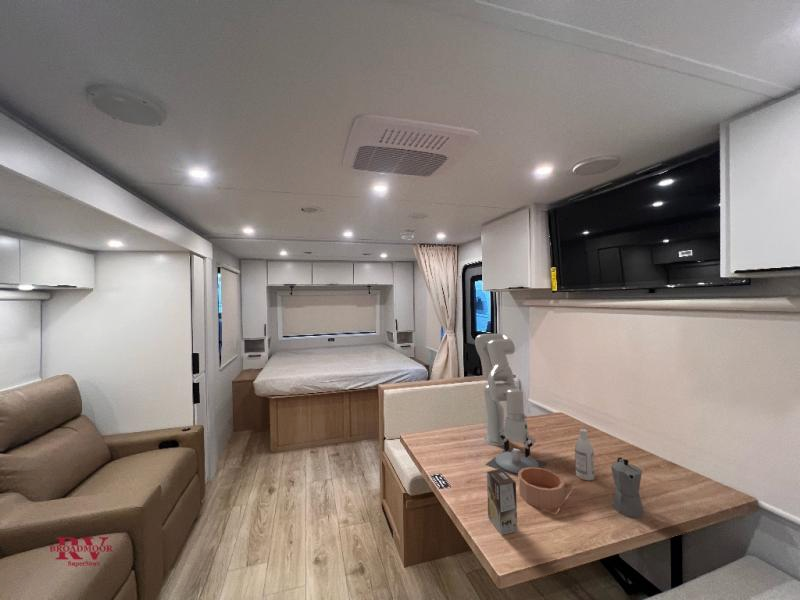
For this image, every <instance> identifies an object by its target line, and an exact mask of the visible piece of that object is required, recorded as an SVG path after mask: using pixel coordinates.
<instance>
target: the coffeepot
mask: <svg viewBox="0 0 800 600" xmlns="http://www.w3.org/2000/svg"><path fill="white" fill-rule="evenodd" d="M610 468H611V472H612V478H613V482H614V485H615V490H614V495H613V501H612V507H613V508H614V510H616V511H617V512H618V513H620V514H621V515H623V516H626V517H629V518H632V519H634V518H635V519H640V518H642V517H643V515H644V508H643V505H642V499H641V496H640V494H639V492H640V489H641V487H640V486H641V480H642V473H643V470H642V469H641V468H639V467H638V466H636V465H635V464H631V463H629V460H628V459H626V458H622V457H618V458H617V459H616V461H612V463H611V464H610Z"/></svg>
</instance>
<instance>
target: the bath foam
mask: <svg viewBox="0 0 800 600" xmlns="http://www.w3.org/2000/svg"><path fill="white" fill-rule="evenodd" d="M594 453H595V452H594V447H593V445H592V443H591V442H590V440H589V439H588V430H587V429H585V428H580V429H579V438H578V439H577V441H576V442H575V445H574V455H575V456H574V460H575V461H574V462H575V466H574V467H575V475H576V476H577V477H578V478H579V479H580V480H584V481H593V480H594V479H595V461H594V459H595V458H594V457H595V456H594V455H595V454H594Z"/></svg>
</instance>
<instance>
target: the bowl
mask: <svg viewBox="0 0 800 600" xmlns="http://www.w3.org/2000/svg"><path fill="white" fill-rule="evenodd" d="M517 482H518V493H519V496H520V498H522V499H523V500H524V502H525V503H527V504H529V505H531V506H533V507H535V508H538V509H541V510H542V509H543V510H545V509H550V510H552V509H560V508H561V509H562V507H563V506H564V504H565V503H566V499H565V497H566V496H565V482H564V480H563V478H562V476H560V475H559V474H557V473H555V471H552V470H549V469H546V468H536V467H528V468H523V469H521V470H520V471H519V472H518V477H517Z"/></svg>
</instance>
